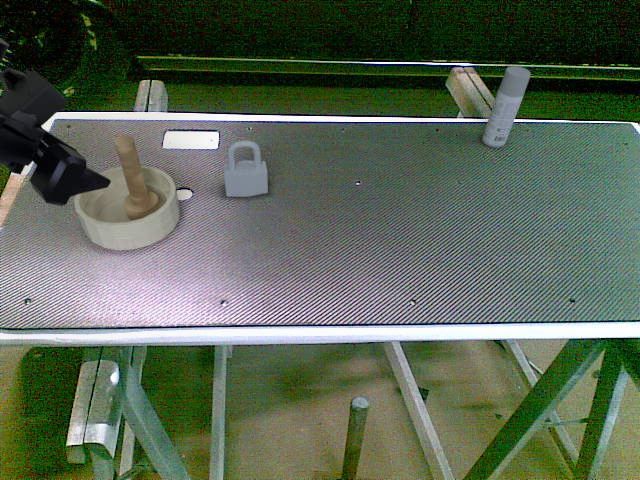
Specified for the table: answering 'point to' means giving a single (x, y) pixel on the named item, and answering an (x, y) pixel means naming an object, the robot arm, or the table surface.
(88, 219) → the bowl
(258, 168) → the padlock
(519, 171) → the table surface
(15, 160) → the robot arm
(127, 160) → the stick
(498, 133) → the container
